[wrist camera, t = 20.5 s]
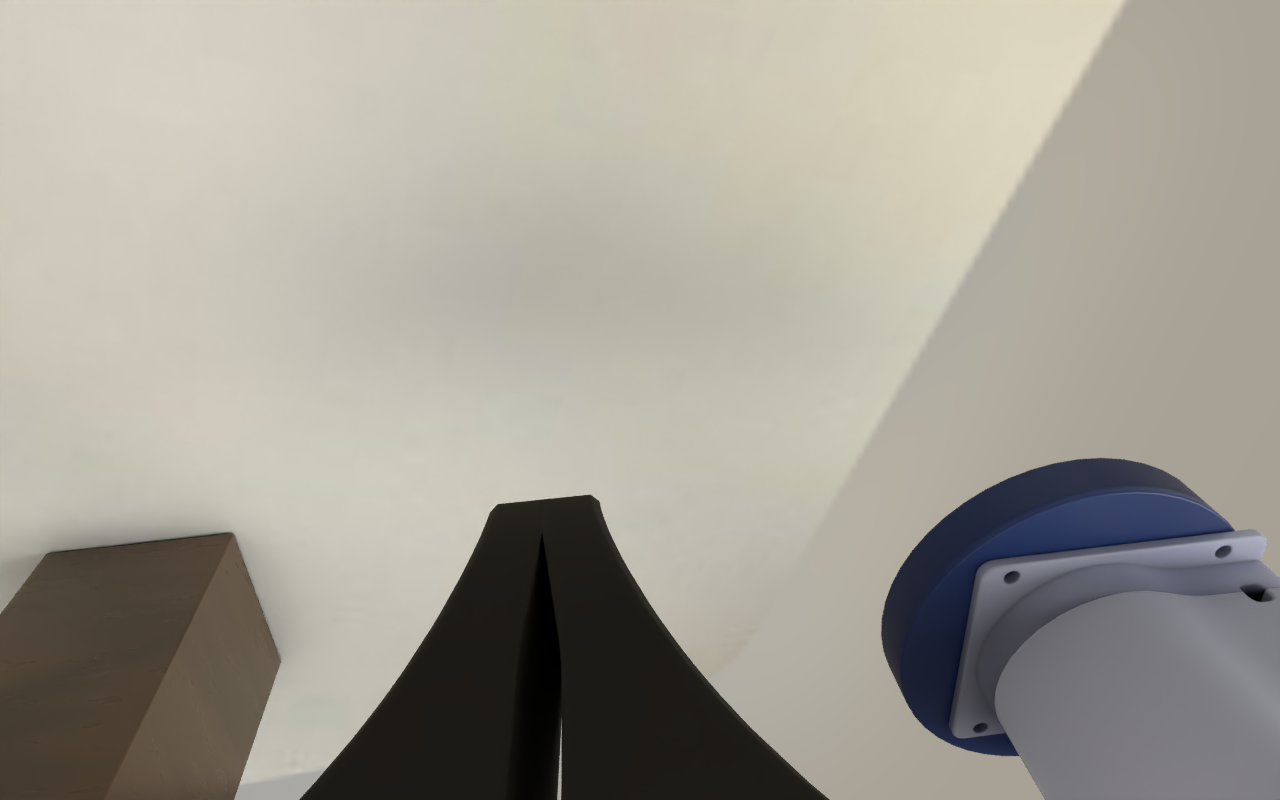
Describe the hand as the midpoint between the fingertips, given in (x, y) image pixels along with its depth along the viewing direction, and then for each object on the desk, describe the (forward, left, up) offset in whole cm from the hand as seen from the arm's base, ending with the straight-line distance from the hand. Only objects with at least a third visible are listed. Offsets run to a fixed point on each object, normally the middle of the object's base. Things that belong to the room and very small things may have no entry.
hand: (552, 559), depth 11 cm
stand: (+11, +8, -9) cm, 16 cm away
